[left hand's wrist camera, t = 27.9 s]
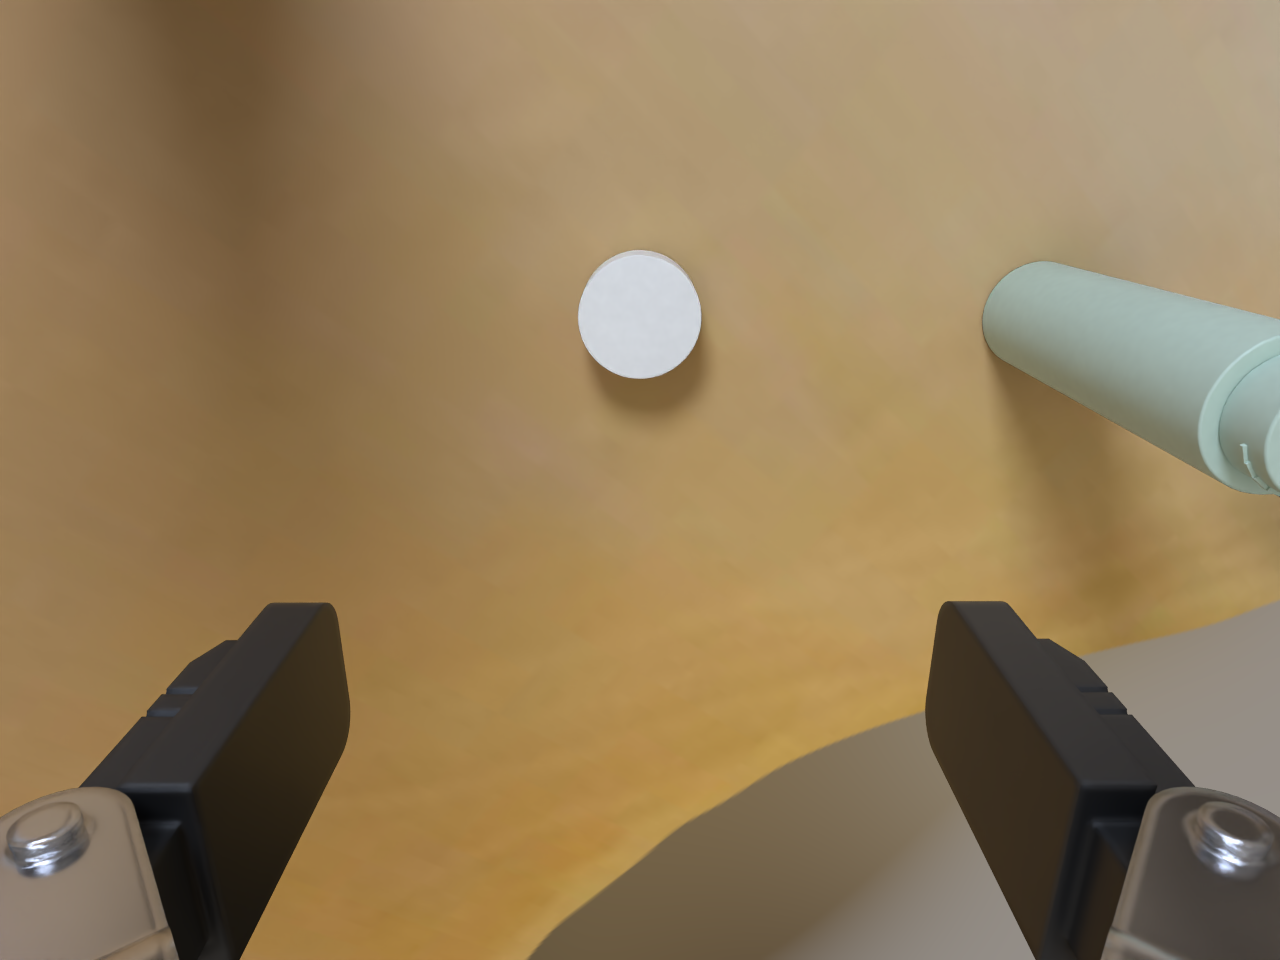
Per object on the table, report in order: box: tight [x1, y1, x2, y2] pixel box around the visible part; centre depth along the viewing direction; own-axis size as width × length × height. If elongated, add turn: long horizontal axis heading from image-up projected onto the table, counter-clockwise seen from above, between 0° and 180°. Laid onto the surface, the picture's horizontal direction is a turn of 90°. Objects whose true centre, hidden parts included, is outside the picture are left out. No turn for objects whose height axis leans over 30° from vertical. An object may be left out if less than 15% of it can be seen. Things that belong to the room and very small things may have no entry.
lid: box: [578, 250, 701, 379], centre depth 37 cm, size 5×5×2 cm
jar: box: [982, 261, 1280, 497], centre depth 30 cm, size 5×5×18 cm
